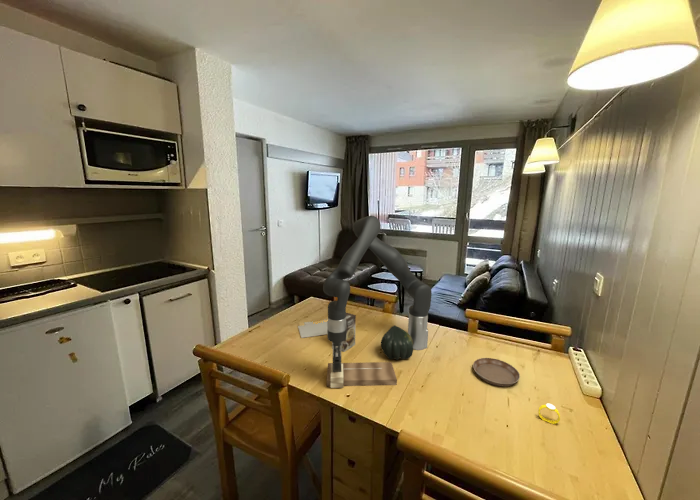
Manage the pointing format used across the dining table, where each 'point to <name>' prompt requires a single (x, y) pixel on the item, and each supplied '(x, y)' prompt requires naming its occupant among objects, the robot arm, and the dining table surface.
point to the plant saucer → (496, 371)
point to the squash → (397, 344)
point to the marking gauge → (337, 376)
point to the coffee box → (349, 332)
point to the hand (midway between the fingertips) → (337, 366)
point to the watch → (552, 408)
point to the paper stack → (313, 329)
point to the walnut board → (366, 374)
